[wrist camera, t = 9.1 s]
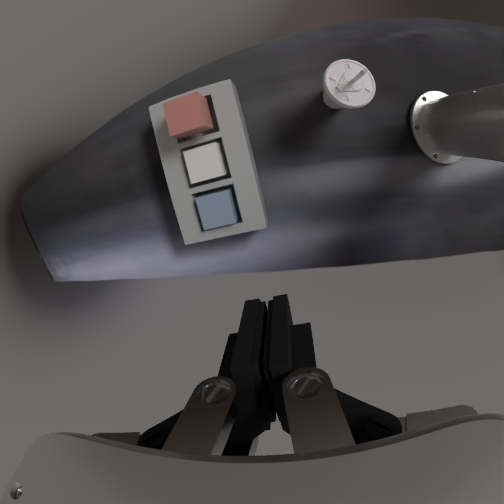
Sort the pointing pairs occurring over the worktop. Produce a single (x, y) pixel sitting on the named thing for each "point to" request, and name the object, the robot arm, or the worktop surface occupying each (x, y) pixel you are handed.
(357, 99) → the smoothie
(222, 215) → the blue key
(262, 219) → the keypad housing
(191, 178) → the white key
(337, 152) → the worktop surface
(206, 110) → the red key
